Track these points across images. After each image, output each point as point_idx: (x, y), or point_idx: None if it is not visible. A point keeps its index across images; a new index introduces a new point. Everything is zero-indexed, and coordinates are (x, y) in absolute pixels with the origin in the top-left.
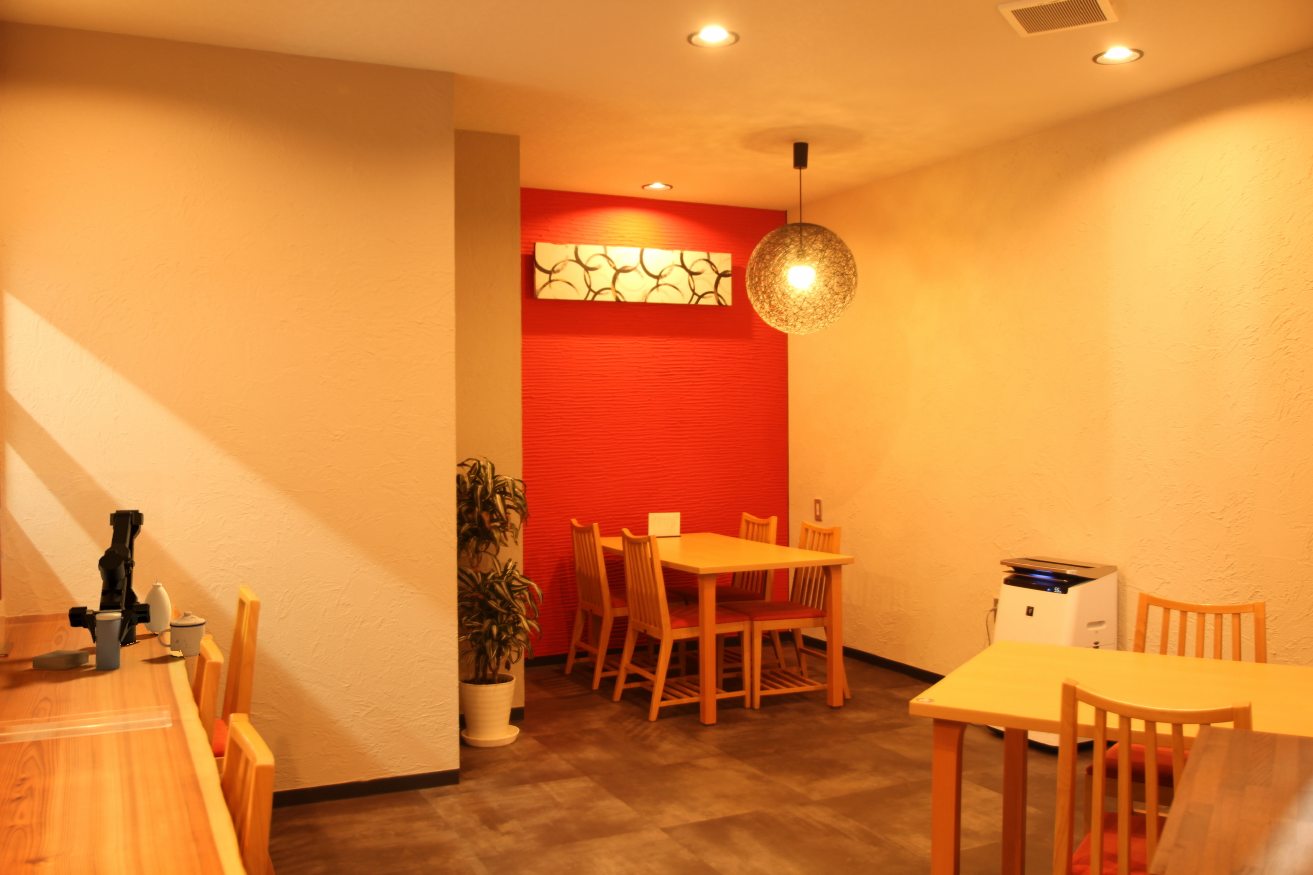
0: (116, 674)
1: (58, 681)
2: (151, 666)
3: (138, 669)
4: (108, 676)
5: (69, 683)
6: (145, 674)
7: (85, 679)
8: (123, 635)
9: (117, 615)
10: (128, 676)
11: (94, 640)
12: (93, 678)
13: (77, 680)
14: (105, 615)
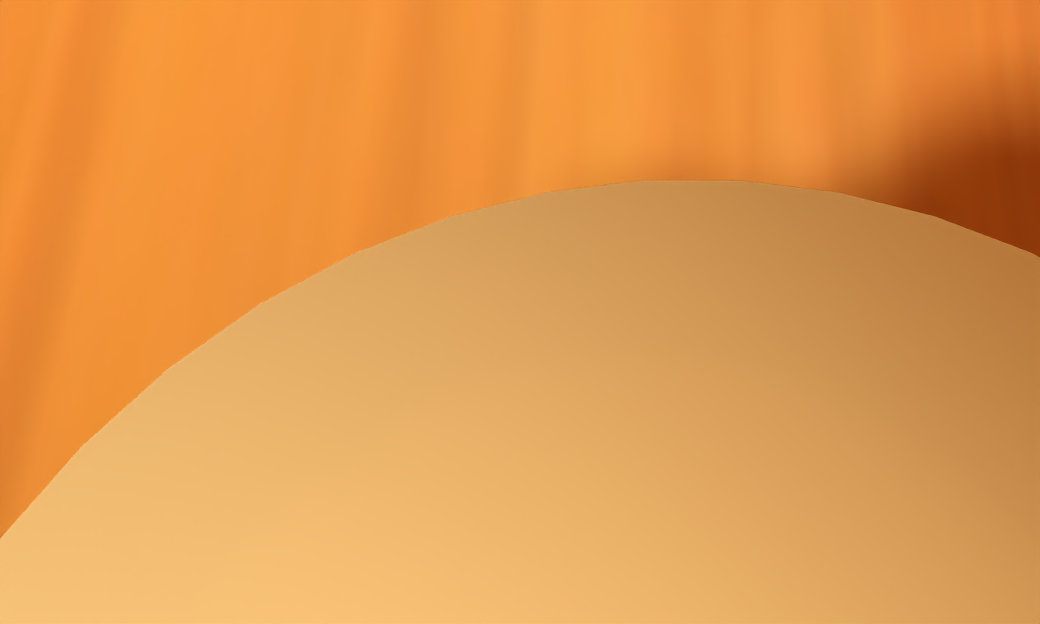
0: (460, 182)
1: (1034, 165)
2: (10, 425)
3: (192, 326)
4: (548, 127)
5: (919, 13)
6: (180, 11)
7: (776, 110)
8: None
9: (208, 359)
10: (357, 12)
11: None
12: (699, 114)
13: (852, 107)
14: (950, 513)
